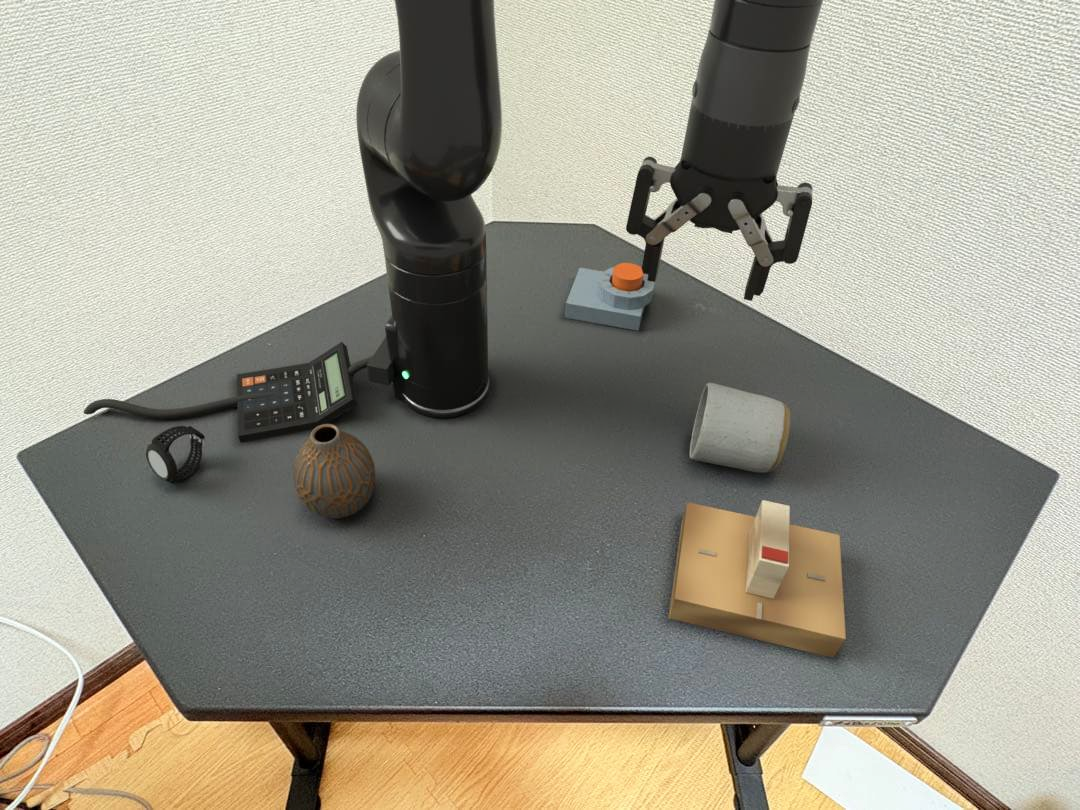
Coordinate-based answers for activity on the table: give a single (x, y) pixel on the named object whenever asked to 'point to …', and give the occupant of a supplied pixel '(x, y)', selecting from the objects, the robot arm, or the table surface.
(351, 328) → the table surface
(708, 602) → the knob base
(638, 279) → the button
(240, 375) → the calculator
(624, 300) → the button block
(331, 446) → the vase
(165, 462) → the smartwatch
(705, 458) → the ceramic mug
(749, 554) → the cream red striped block
